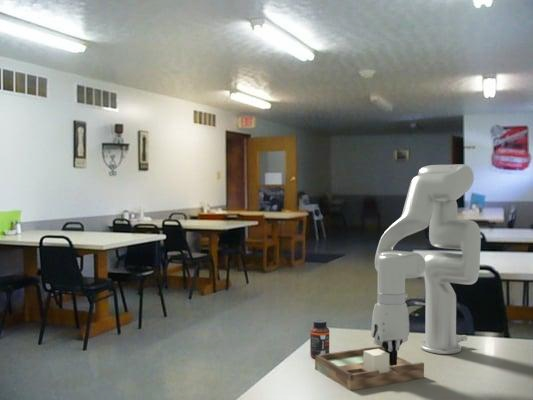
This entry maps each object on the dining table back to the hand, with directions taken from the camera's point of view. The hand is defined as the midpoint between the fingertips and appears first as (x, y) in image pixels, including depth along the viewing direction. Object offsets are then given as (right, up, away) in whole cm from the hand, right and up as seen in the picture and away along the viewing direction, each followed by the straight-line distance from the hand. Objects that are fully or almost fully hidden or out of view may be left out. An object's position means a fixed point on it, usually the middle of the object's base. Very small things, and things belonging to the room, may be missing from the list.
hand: (391, 363), depth 156 cm
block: (-5, -1, -2) cm, 5 cm away
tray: (-6, -4, +3) cm, 7 cm away
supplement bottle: (-18, -3, +18) cm, 26 cm away
